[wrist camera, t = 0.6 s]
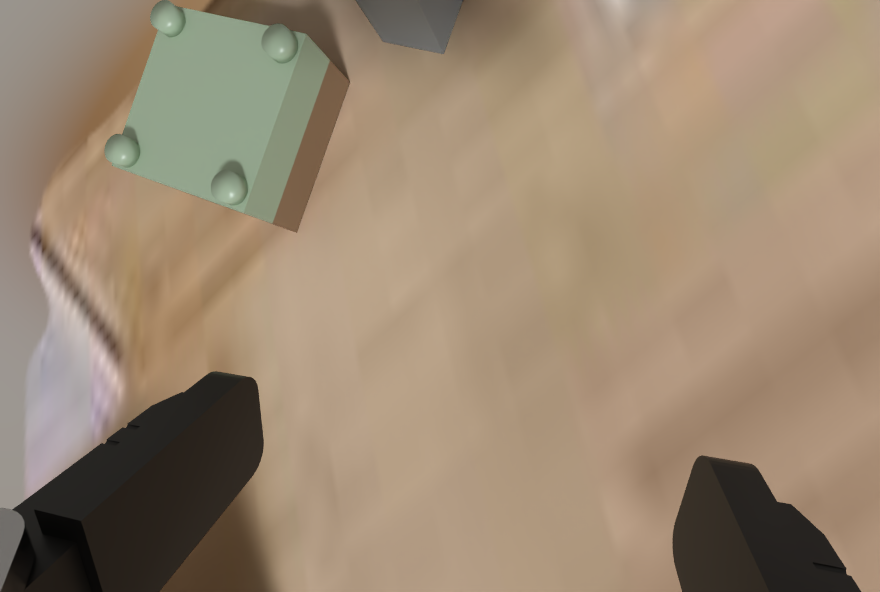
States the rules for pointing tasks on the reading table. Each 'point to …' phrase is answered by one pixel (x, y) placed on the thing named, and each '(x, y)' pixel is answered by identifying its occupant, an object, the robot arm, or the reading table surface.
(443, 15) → the tall brick
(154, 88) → the tower base
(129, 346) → the reading table surface
